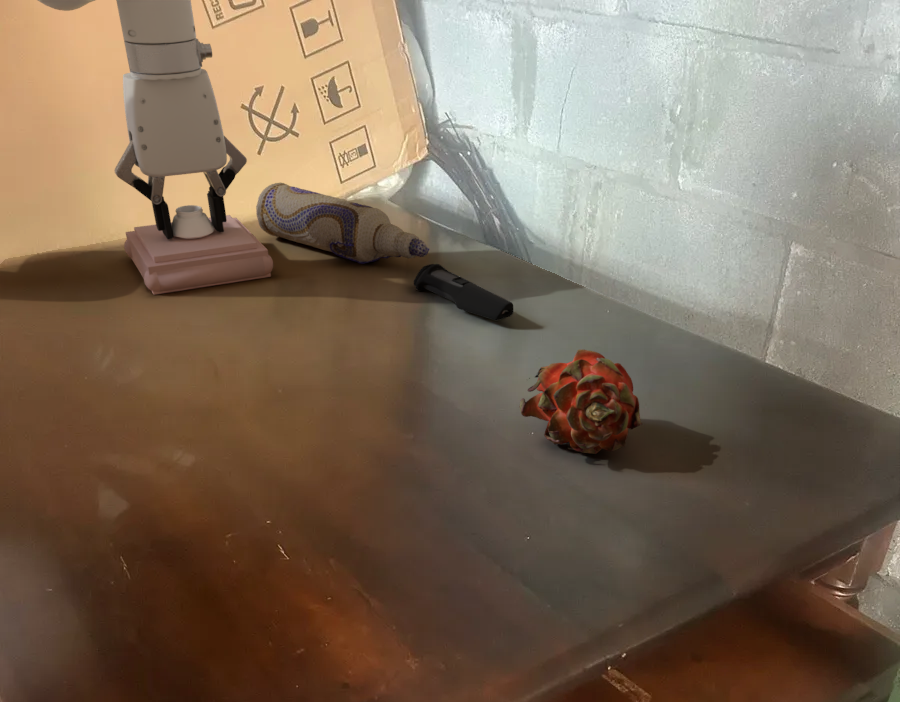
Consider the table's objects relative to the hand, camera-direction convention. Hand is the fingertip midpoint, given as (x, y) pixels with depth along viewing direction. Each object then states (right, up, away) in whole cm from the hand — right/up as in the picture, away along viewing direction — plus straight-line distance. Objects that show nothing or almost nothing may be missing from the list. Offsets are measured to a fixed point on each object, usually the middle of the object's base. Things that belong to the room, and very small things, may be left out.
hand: (193, 230), depth 109 cm
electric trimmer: (+32, -11, -7) cm, 35 cm away
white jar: (0, -1, 0) cm, 1 cm away
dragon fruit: (+42, -31, -31) cm, 60 cm away
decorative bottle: (+17, -1, +7) cm, 18 cm away
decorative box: (0, -3, +3) cm, 4 cm away
